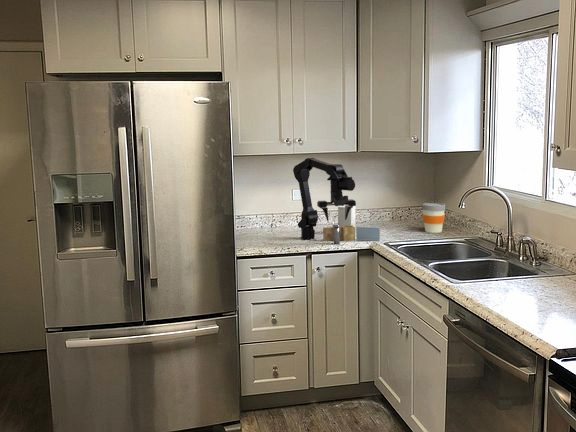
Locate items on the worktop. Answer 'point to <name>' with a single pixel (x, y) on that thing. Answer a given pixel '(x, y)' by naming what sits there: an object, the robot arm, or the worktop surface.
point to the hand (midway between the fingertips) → (336, 220)
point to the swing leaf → (368, 233)
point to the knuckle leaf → (345, 233)
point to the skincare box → (350, 217)
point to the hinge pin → (336, 234)
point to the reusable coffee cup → (433, 216)
